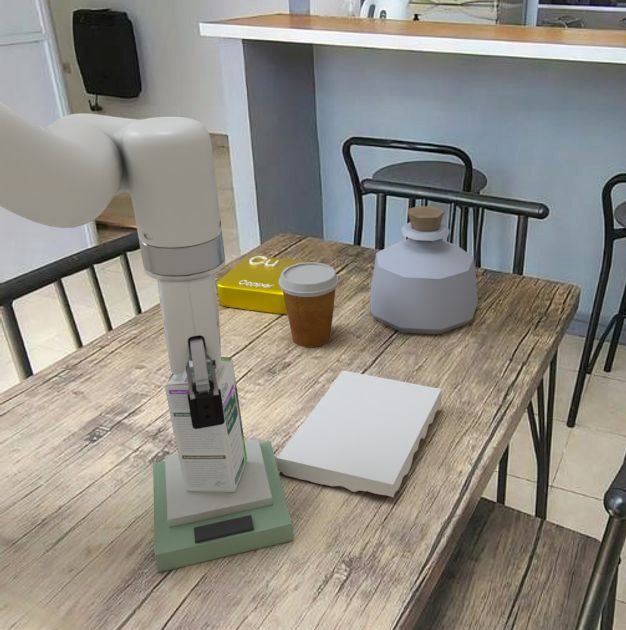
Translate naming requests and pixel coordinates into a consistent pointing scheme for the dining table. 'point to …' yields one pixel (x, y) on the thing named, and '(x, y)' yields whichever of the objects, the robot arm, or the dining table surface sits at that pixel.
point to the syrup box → (208, 434)
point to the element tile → (255, 285)
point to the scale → (219, 512)
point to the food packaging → (361, 434)
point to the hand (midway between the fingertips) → (205, 402)
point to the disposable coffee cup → (309, 301)
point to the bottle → (424, 278)
